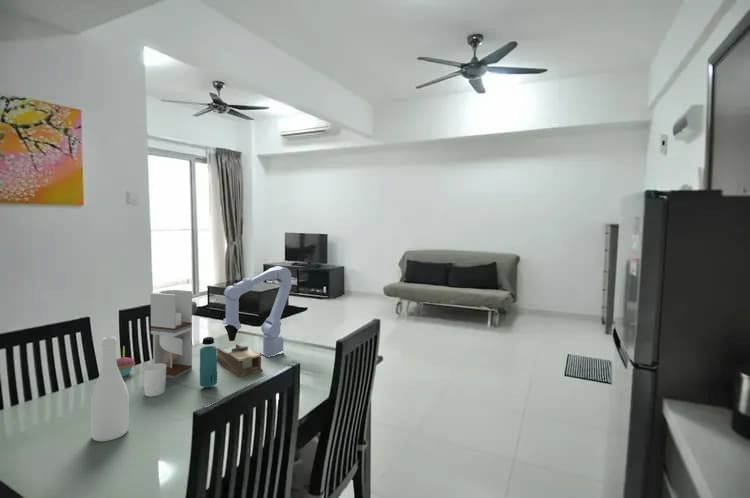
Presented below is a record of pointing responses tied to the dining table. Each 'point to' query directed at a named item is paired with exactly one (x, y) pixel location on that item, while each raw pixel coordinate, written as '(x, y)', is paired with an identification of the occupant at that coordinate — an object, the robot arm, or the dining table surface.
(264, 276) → the robot arm
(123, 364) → the cupcake
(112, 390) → the wine bottle
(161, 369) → the white cup
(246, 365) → the block
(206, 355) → the beverage bottle
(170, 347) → the white tiered shelf
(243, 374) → the brown wooden box
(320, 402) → the dining table surface
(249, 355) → the lid
